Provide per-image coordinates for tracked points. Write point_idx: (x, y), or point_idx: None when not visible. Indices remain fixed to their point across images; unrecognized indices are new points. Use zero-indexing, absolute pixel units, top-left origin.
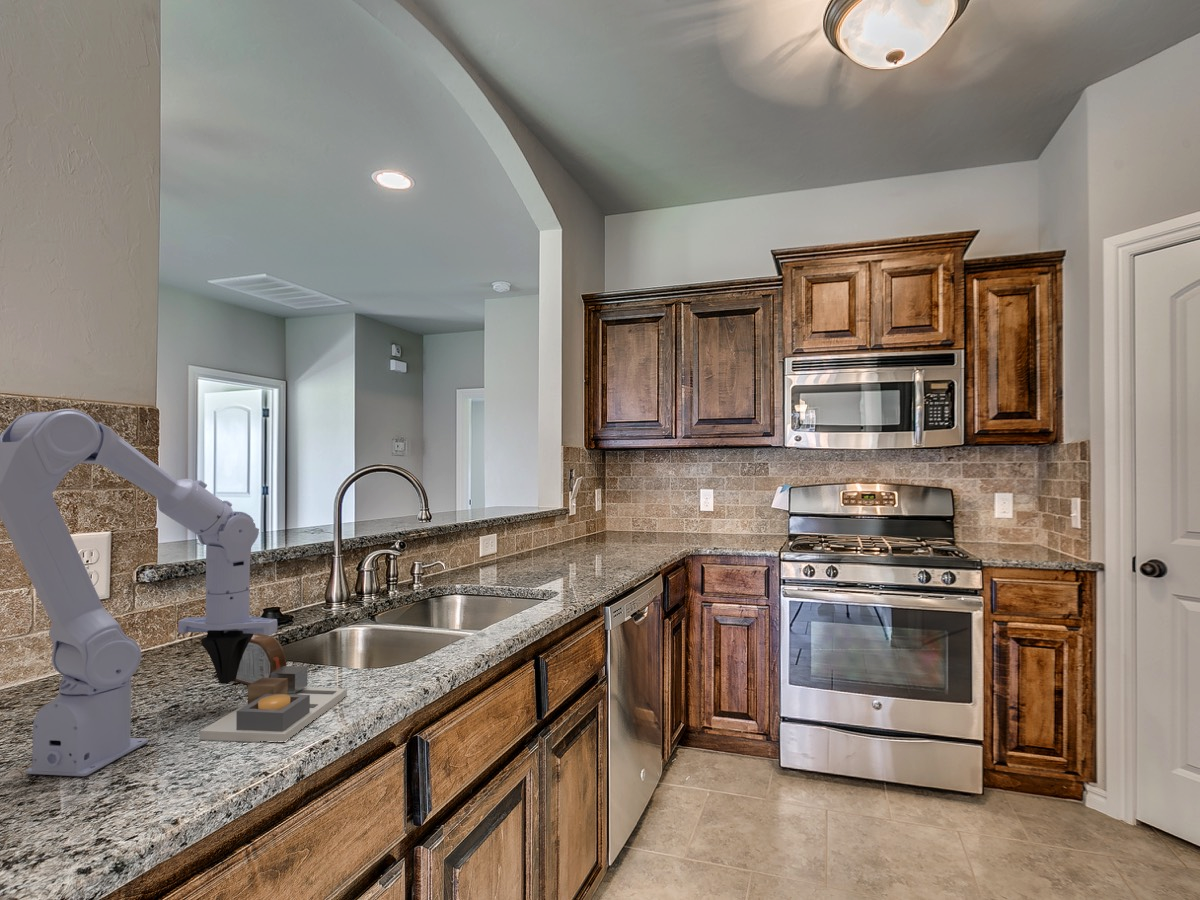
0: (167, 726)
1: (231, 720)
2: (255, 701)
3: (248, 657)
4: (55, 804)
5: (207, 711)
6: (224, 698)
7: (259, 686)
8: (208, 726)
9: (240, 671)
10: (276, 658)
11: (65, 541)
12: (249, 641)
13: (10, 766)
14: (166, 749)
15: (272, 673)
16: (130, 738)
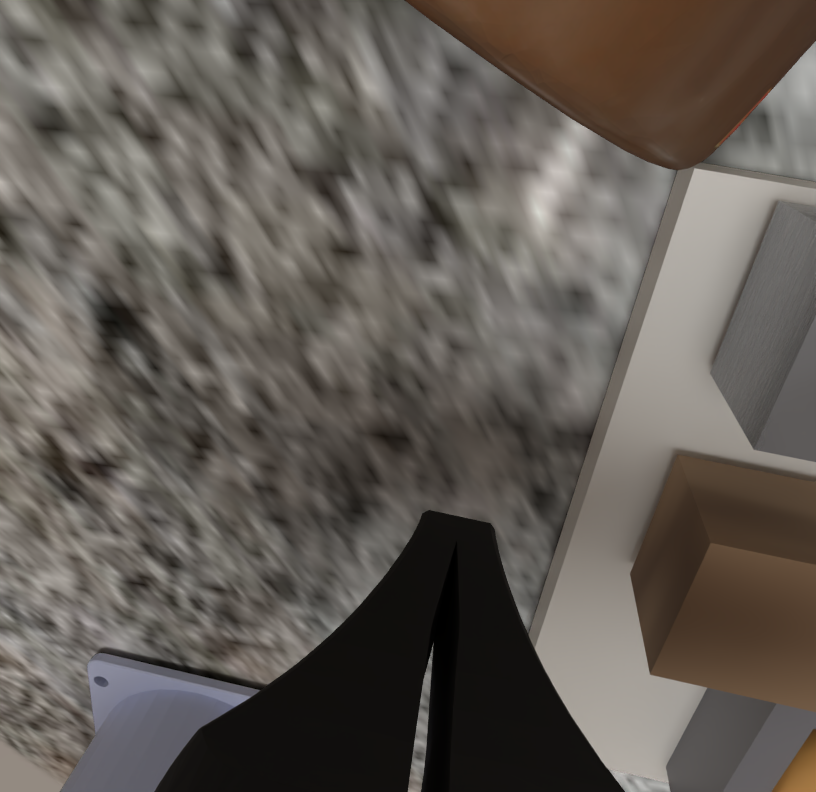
0: (276, 568)
1: (599, 678)
2: (748, 778)
3: None
4: None
5: (353, 423)
6: (333, 218)
7: (738, 690)
8: None
9: None
10: (748, 114)
11: None
12: (617, 783)
13: (17, 750)
14: (418, 749)
15: (772, 451)
16: (240, 700)
